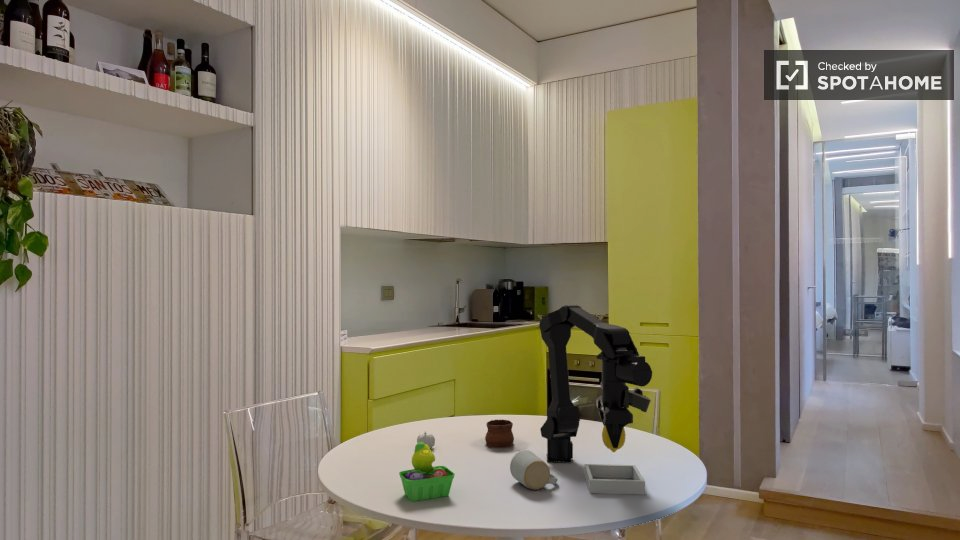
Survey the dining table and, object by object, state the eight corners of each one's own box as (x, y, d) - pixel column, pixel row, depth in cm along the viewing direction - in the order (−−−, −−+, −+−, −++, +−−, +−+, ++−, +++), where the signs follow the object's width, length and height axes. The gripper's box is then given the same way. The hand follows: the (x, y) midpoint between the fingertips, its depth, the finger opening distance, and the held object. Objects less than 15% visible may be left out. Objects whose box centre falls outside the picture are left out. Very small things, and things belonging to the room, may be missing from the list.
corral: (589, 493, 144) (589, 480, 145) (584, 475, 157) (584, 463, 157) (645, 494, 144) (645, 481, 144) (635, 477, 156) (635, 465, 156)
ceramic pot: (541, 446, 184) (541, 422, 185) (492, 457, 174) (492, 432, 174) (505, 435, 199) (504, 413, 199) (458, 444, 189) (457, 421, 189)
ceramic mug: (524, 493, 144) (525, 460, 144) (509, 482, 152) (509, 450, 152) (564, 488, 148) (564, 455, 148) (547, 478, 156) (547, 447, 156)
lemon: (625, 456, 147) (625, 422, 147) (601, 454, 148) (602, 421, 148) (625, 449, 153) (625, 417, 153) (602, 448, 154) (602, 415, 154)
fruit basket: (407, 504, 137) (407, 452, 137) (396, 491, 145) (396, 442, 145) (455, 497, 142) (456, 447, 142) (442, 485, 150) (442, 438, 150)
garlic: (429, 452, 178) (429, 433, 178) (412, 450, 180) (412, 432, 180) (438, 447, 184) (438, 429, 184) (422, 445, 186) (422, 427, 186)
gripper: (655, 387, 141) (655, 456, 141) (640, 374, 159) (640, 435, 159) (605, 386, 142) (605, 455, 141) (596, 373, 160) (596, 434, 160)
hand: (613, 444), depth 151 cm, fingers closed on lemon, 5 cm apart
